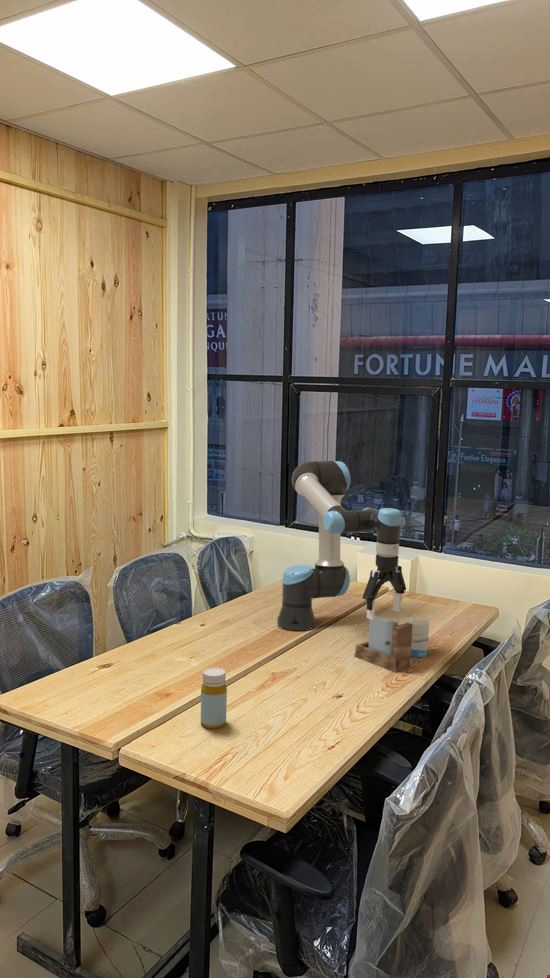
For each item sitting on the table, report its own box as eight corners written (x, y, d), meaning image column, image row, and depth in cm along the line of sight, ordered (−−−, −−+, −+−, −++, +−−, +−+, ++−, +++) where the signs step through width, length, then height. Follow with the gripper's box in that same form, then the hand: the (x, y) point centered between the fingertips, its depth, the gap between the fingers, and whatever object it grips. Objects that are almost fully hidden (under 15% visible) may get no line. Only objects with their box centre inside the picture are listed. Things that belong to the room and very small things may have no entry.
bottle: (200, 718, 198) (201, 666, 196) (225, 717, 198) (226, 666, 196) (200, 729, 191) (201, 676, 189) (226, 729, 192) (227, 676, 190)
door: (366, 656, 246) (367, 617, 244) (373, 653, 248) (375, 615, 247) (388, 664, 238) (390, 624, 237) (396, 662, 241) (398, 622, 239)
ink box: (427, 658, 248) (429, 626, 247) (402, 655, 250) (404, 623, 248) (427, 649, 257) (429, 618, 255) (403, 647, 258) (405, 616, 257)
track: (354, 656, 248) (356, 615, 246) (369, 651, 253) (371, 610, 251) (395, 672, 235) (397, 628, 233) (410, 666, 240) (412, 624, 238)
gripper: (371, 562, 228) (367, 625, 231) (418, 551, 244) (414, 610, 248) (354, 557, 233) (350, 619, 237) (401, 547, 250) (397, 605, 253)
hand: (383, 615), depth 242 cm, fingers open, 13 cm apart
